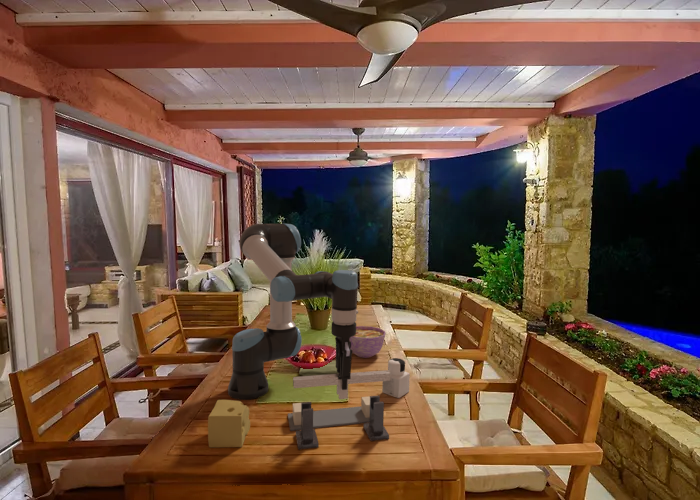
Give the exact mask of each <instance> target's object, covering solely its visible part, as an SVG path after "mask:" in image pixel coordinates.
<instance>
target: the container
mask: <svg viewBox="0 0 700 500" xmlns="http://www.w3.org/2000/svg"><path fill="white" fill-rule="evenodd" d="M387 370H388V371H389V372H390V381H382V387H381V389H382V392H381V393H383V394H386V395H388V396H391V397H395V398H397V399H400V398H401V397H403V396H405V395H406V394H409V392H410V380H411V379H410V378H411V377H410V375H411V374H410V372H407V371H406V361H405V360H404V359H402V358H398V357H393V358H389V360H388V361H387Z"/></svg>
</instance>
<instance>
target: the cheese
mask: <svg viewBox="0 0 700 500" xmlns="http://www.w3.org/2000/svg"><path fill="white" fill-rule="evenodd" d="M249 415H250V408H249V406H247V405H244V403H243V402H242V401H241V400H232V399H217V401H216V403H215V404H214V407H213V408H212V410H211V412H210V413H209V415H208V418H207V441H208V447H209V448H242V447H243V445H244V442H245V440H246V436H247V435H248V433H249V431H250V429H251V420H250V418H249Z"/></svg>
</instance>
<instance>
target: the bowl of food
mask: <svg viewBox="0 0 700 500" xmlns="http://www.w3.org/2000/svg"><path fill="white" fill-rule="evenodd" d="M386 333H387V332H386V331H385V330H384V329H382V328H380V327H375V326H366V325H359V326H356V335H355V336H353V337H350V341H351V348H350V349H352V351H353V352H352V354H354V355H356V356H357V357H359V358H365V359H367V358H372V357H373V356H375V355H378V354H379V353H380V351H381V350H382V349H383V345H384V341H385V338H386Z"/></svg>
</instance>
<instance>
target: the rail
mask: <svg viewBox="0 0 700 500" xmlns="http://www.w3.org/2000/svg"><path fill="white" fill-rule="evenodd" d="M338 377H340V374H328V375H315V376H303V375H301V376H293V378H292V379H293V380H292V386H293V389H302V388H303V389H304V388H313V387H314V388H315V387H328V386H337V385H339V380H338ZM350 377H351V378H350V379H348V385H349V384H350V385H352V384H365V383H376V382H377V383H378V382H379V383H380V382H383V381H390V372H389V371H388V369H385V370H372V371H371V370H369V371H357V372H351V375H350Z"/></svg>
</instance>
